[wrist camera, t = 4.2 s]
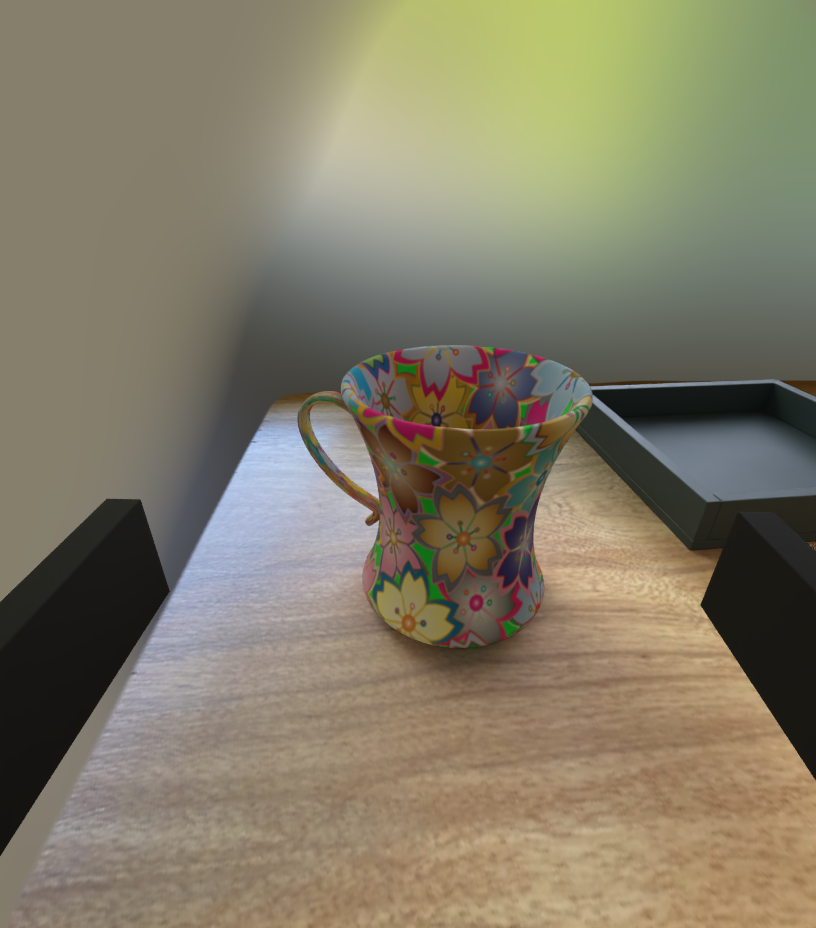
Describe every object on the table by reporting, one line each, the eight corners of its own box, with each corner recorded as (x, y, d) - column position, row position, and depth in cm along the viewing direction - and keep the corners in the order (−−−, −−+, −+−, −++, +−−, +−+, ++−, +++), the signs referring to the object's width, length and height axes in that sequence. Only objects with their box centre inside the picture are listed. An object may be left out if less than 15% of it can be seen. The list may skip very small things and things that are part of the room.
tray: (689, 550, 26) (707, 502, 25) (567, 422, 41) (574, 386, 39) (976, 529, 28) (1009, 483, 27) (762, 413, 42) (776, 379, 41)
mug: (556, 550, 26) (594, 356, 21) (539, 699, 19) (592, 453, 13) (352, 508, 30) (341, 332, 24) (265, 620, 22) (222, 398, 17)
